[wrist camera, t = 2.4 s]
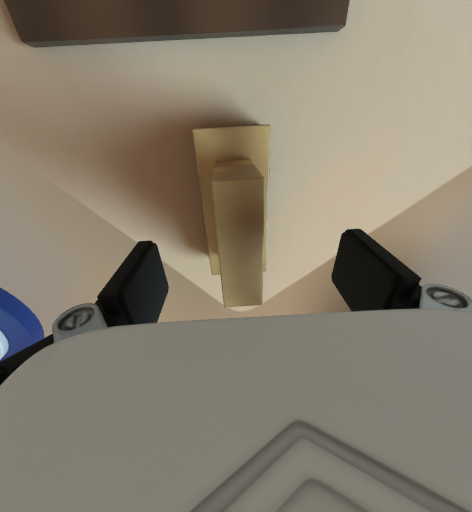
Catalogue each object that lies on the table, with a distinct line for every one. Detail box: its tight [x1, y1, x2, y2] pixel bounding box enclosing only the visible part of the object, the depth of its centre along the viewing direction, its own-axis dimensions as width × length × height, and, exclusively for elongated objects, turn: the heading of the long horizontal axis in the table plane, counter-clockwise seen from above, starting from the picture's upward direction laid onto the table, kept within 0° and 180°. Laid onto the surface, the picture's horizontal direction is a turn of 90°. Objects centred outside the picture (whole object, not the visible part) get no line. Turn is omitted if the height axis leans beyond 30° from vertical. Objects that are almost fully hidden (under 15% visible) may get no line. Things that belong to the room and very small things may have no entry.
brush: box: [192, 125, 271, 307], centre depth 16 cm, size 5×12×10 cm, turn 3°
